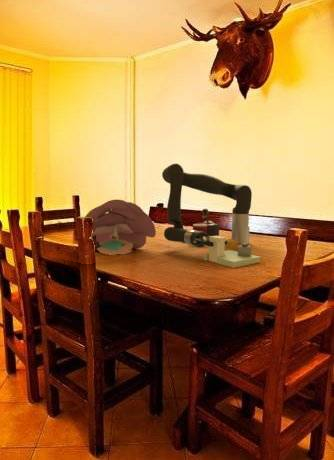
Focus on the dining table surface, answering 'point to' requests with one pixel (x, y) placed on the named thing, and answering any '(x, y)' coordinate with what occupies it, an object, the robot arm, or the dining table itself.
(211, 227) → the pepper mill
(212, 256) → the beige bar
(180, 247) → the dining table surface
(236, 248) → the croissant
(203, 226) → the canned food
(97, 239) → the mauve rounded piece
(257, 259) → the deck
